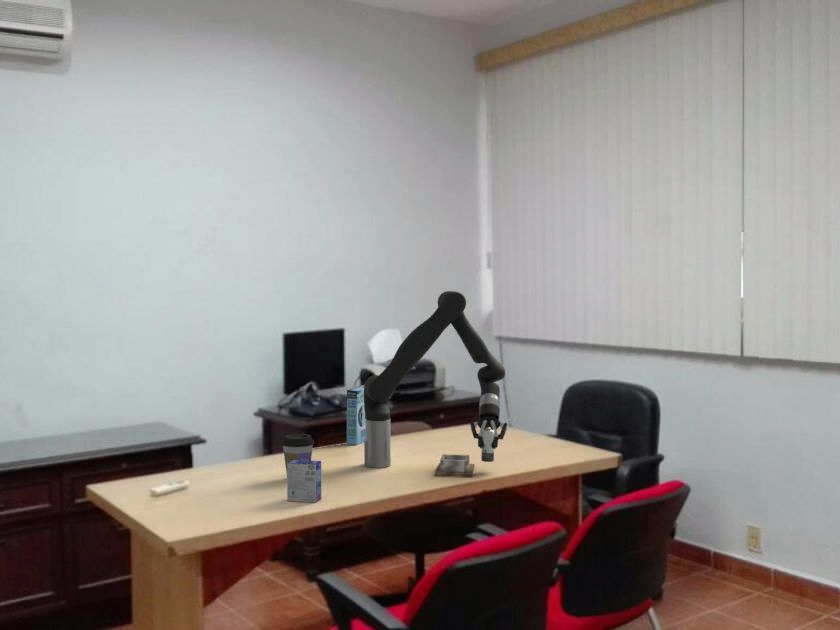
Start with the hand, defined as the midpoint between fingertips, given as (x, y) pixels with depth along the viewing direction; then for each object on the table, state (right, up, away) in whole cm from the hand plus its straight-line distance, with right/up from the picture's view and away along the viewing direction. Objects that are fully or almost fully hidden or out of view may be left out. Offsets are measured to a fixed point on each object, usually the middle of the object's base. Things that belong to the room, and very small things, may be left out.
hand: (487, 447), depth 306 cm
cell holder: (-12, -9, +3) cm, 15 cm away
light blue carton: (-49, -6, +59) cm, 77 cm away
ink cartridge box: (-60, -11, -36) cm, 71 cm away
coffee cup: (-66, -10, -9) cm, 68 cm away
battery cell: (0, -5, +2) cm, 5 cm away
